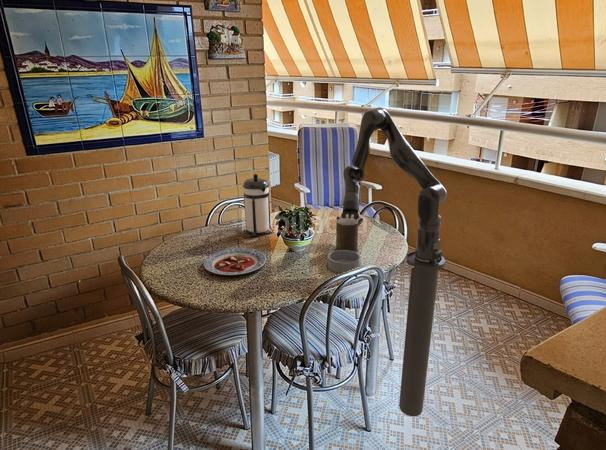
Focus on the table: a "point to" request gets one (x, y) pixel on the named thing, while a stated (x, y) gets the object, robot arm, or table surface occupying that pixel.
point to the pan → (343, 260)
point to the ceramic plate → (234, 261)
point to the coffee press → (257, 205)
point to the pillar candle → (347, 234)
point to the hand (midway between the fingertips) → (348, 236)
